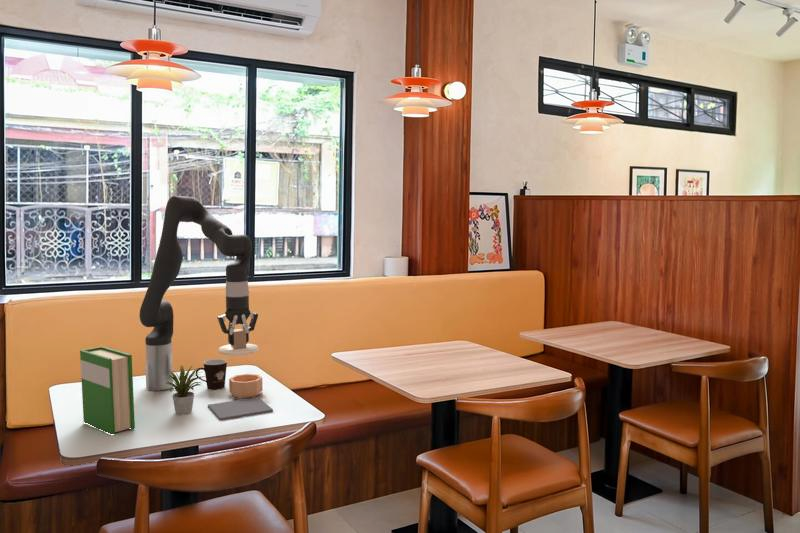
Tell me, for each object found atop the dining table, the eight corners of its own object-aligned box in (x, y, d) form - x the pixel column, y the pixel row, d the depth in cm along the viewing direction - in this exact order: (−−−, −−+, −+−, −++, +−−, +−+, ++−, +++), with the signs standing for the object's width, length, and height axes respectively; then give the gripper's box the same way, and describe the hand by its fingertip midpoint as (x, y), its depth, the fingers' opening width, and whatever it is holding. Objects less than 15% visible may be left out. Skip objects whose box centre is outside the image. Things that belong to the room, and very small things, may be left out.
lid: (225, 357, 216) (224, 335, 215) (214, 348, 227) (214, 328, 227) (263, 352, 223) (263, 331, 222) (251, 344, 234) (251, 325, 233)
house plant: (186, 423, 214) (184, 373, 212) (151, 417, 218) (149, 369, 217) (213, 409, 227) (211, 363, 225) (179, 405, 232) (178, 359, 230)
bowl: (235, 400, 237) (235, 384, 236) (227, 392, 246) (226, 376, 246) (265, 395, 242) (265, 379, 242) (256, 388, 252) (255, 372, 251)
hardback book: (134, 429, 208) (131, 354, 205) (112, 436, 202) (108, 359, 199) (106, 417, 219) (102, 346, 216) (83, 423, 213) (79, 350, 210)
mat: (219, 420, 216) (219, 418, 216) (207, 406, 230) (207, 404, 230) (273, 411, 225) (273, 409, 225) (258, 399, 239) (258, 396, 238)
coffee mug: (226, 383, 258) (226, 358, 257) (228, 389, 250) (227, 363, 249) (195, 386, 254) (194, 360, 253) (196, 392, 246) (195, 366, 245)
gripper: (254, 291, 230) (255, 339, 232) (213, 294, 223) (214, 344, 225) (261, 294, 223) (262, 344, 225) (219, 297, 216) (220, 349, 218)
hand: (238, 344), depth 225 cm, fingers closed on lid, 4 cm apart
